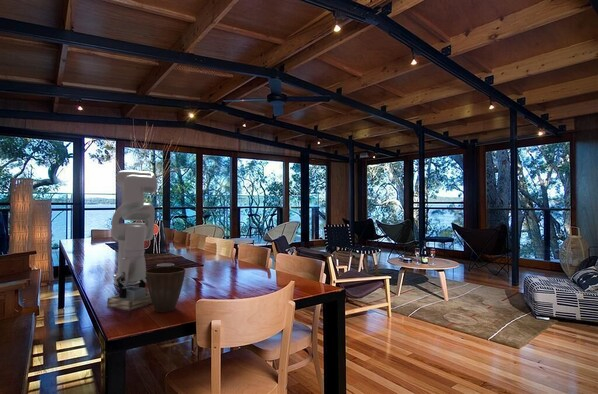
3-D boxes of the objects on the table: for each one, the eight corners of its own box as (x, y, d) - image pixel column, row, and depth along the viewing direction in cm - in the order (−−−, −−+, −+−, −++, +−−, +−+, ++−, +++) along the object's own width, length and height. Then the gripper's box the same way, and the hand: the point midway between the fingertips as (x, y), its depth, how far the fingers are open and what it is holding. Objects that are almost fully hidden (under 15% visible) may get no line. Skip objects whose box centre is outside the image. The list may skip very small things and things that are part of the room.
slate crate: (119, 303, 139) (119, 289, 139) (131, 299, 145) (131, 285, 145) (133, 306, 136) (134, 291, 137) (145, 302, 142) (145, 288, 142)
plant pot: (143, 317, 125) (145, 274, 126) (144, 305, 139) (146, 267, 139) (185, 313, 131) (187, 272, 132) (182, 302, 145) (183, 265, 145)
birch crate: (107, 306, 137) (107, 298, 137) (134, 298, 149) (134, 290, 149) (129, 311, 132) (130, 302, 132) (155, 302, 145) (156, 294, 145)
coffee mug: (177, 282, 180) (177, 264, 180) (165, 286, 172) (166, 266, 172) (159, 280, 184) (160, 262, 184) (147, 284, 176) (148, 264, 176)
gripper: (143, 251, 151) (142, 289, 150) (109, 256, 134) (107, 299, 134) (156, 252, 148) (155, 291, 147) (123, 257, 132) (121, 301, 131)
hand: (132, 295), depth 141 cm, fingers open, 9 cm apart
